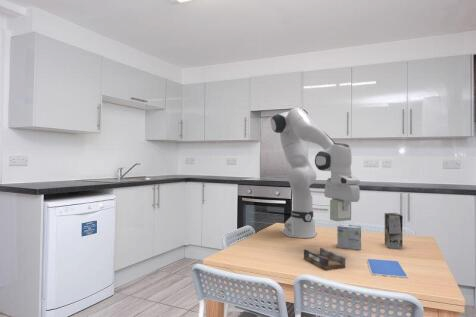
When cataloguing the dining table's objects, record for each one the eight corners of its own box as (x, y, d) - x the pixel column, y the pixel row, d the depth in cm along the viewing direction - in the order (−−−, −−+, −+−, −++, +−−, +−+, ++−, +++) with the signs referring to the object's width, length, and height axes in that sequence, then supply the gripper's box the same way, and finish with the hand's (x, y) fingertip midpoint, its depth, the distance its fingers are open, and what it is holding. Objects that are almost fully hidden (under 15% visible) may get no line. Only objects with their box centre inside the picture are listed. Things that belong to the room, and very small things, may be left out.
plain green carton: (330, 219, 146) (330, 199, 146) (344, 218, 149) (344, 199, 149) (336, 221, 142) (336, 200, 142) (351, 220, 145) (351, 200, 145)
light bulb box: (361, 247, 160) (361, 225, 160) (360, 250, 154) (360, 227, 154) (338, 244, 164) (338, 223, 164) (337, 247, 158) (337, 225, 158)
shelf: (303, 258, 139) (303, 249, 140) (321, 256, 143) (321, 247, 143) (325, 270, 124) (325, 260, 125) (345, 267, 128) (345, 257, 128)
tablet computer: (408, 280, 116) (408, 276, 116) (371, 276, 120) (371, 273, 120) (398, 264, 135) (398, 260, 135) (366, 261, 138) (366, 258, 138)
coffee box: (403, 249, 156) (403, 215, 156) (388, 248, 157) (388, 215, 157) (397, 244, 165) (397, 212, 165) (384, 243, 166) (384, 212, 166)
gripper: (321, 177, 154) (321, 206, 154) (350, 180, 135) (350, 213, 135) (332, 177, 156) (332, 206, 156) (362, 180, 137) (362, 212, 137)
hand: (340, 209), depth 145 cm, fingers closed on plain green carton, 5 cm apart
